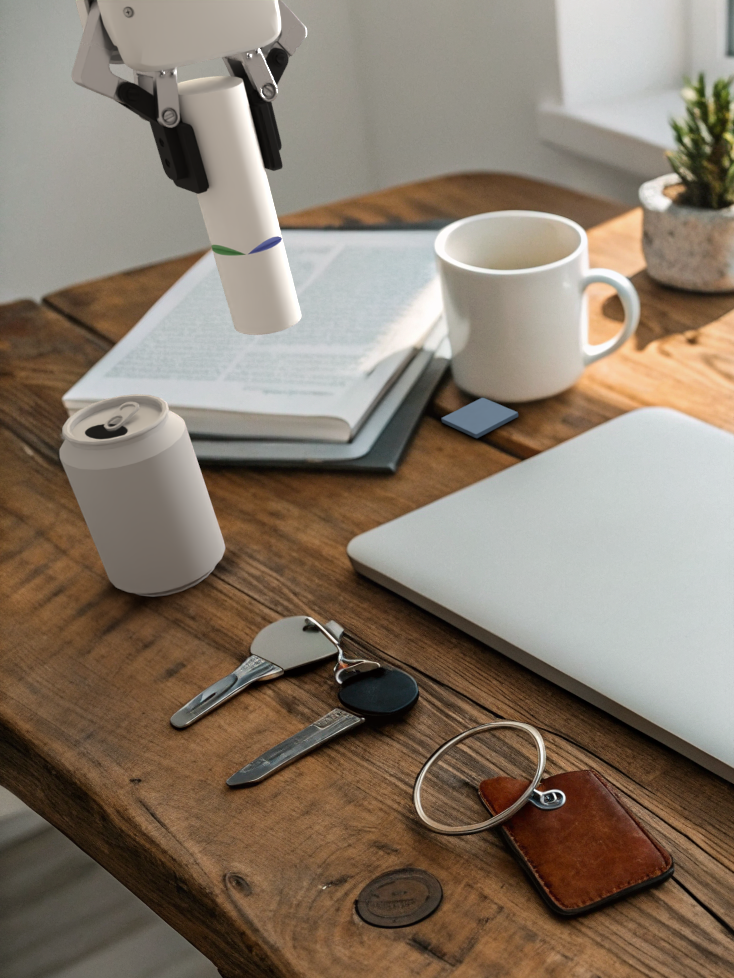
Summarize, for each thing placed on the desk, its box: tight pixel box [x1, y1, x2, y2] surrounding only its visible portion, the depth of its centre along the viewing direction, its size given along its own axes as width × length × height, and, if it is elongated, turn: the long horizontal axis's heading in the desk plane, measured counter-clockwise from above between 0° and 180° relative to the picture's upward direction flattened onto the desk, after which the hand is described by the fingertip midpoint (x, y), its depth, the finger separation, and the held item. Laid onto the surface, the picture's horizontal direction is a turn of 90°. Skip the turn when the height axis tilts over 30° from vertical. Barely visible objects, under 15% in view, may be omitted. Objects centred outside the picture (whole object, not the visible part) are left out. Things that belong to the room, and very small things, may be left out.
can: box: [59, 393, 226, 598], centre depth 76 cm, size 8×8×12 cm
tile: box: [440, 397, 519, 439], centre depth 94 cm, size 4×4×1 cm
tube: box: [177, 75, 303, 336], centre depth 73 cm, size 4×4×15 cm
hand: (228, 174), depth 72 cm, fingers closed on tube, 4 cm apart
